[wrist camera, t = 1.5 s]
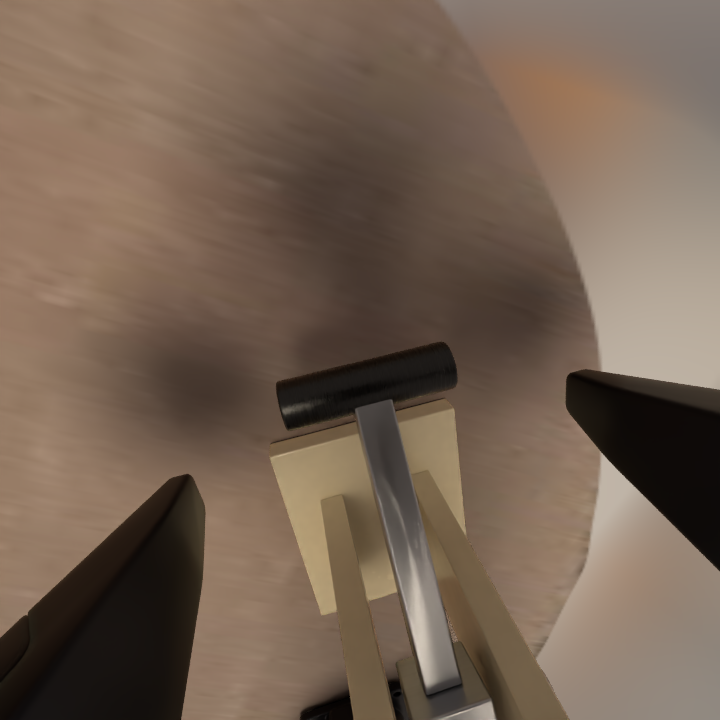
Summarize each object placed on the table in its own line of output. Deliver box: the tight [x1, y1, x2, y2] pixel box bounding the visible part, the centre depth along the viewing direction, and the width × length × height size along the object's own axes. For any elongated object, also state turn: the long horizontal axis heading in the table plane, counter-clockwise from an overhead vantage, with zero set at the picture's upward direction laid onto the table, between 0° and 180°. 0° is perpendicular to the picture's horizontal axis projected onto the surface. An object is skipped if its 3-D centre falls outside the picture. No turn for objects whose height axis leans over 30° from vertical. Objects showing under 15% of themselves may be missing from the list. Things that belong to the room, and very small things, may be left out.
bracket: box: [269, 399, 570, 720], centre depth 15 cm, size 10×8×11 cm
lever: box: [276, 342, 498, 720], centre depth 12 cm, size 12×5×2 cm, turn 10°
